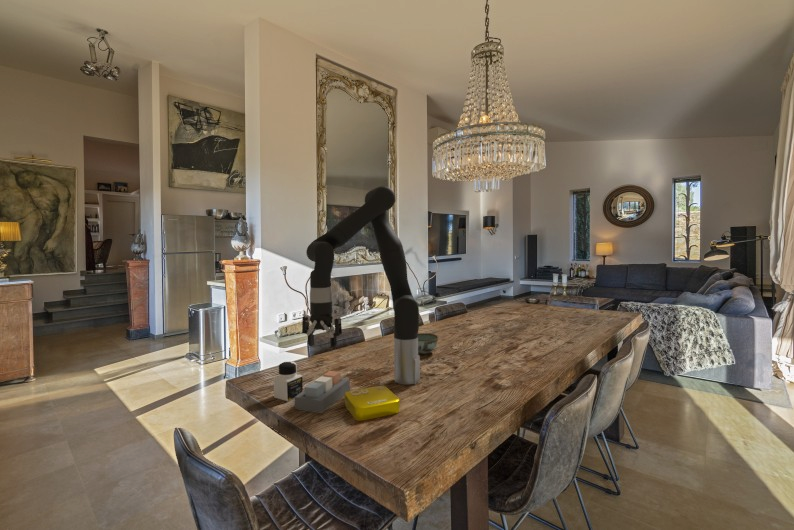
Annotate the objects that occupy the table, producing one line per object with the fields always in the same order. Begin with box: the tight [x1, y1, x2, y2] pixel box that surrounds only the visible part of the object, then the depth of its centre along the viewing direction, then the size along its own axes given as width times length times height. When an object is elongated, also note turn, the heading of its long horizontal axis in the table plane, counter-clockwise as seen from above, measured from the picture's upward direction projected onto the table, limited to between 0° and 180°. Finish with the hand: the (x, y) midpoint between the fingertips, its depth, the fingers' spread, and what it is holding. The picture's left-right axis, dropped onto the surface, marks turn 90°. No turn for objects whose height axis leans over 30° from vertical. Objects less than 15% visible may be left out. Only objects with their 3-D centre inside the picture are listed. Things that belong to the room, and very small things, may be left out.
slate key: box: [304, 381, 324, 398], centre depth 128 cm, size 4×4×4 cm
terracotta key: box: [322, 370, 341, 385], centre depth 139 cm, size 4×4×4 cm
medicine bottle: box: [273, 360, 304, 402], centre depth 136 cm, size 7×7×12 cm
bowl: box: [418, 332, 439, 355], centre depth 187 cm, size 14×13×8 cm
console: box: [294, 377, 351, 414], centre depth 134 cm, size 10×20×4 cm, turn 161°
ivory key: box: [314, 375, 332, 391], centre depth 133 cm, size 4×4×4 cm
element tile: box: [344, 384, 401, 421], centre depth 126 cm, size 15×15×5 cm
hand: (322, 346), depth 133 cm, fingers open, 8 cm apart
